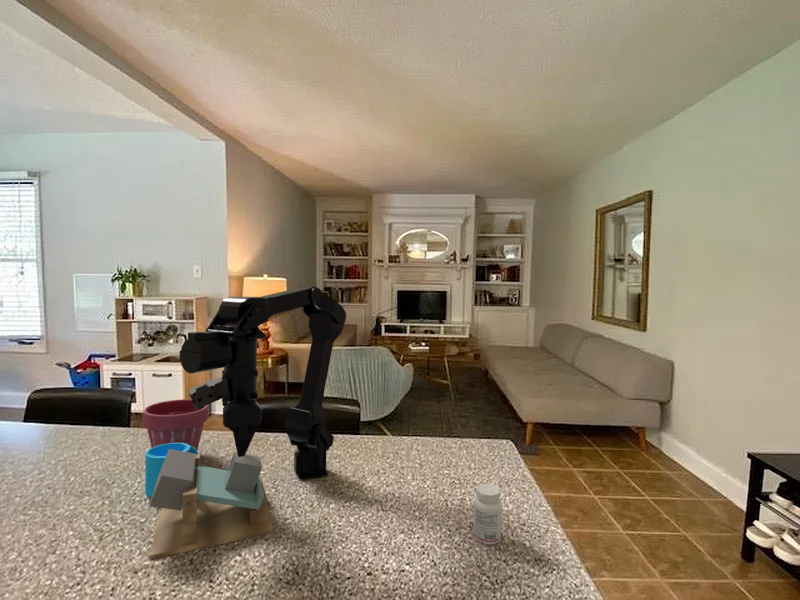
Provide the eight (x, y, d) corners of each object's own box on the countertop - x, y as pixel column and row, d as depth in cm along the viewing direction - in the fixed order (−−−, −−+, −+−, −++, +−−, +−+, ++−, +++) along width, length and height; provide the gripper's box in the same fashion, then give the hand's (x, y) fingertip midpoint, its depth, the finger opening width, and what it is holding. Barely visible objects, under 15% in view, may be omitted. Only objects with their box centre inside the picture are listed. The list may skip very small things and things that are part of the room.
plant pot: (219, 455, 104) (220, 404, 104) (163, 476, 93) (163, 419, 92) (187, 442, 112) (187, 395, 112) (131, 460, 100) (131, 408, 100)
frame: (262, 486, 89) (262, 444, 88) (273, 532, 72) (273, 481, 72) (163, 503, 81) (163, 457, 81) (149, 559, 65) (149, 502, 64)
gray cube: (250, 482, 81) (259, 457, 82) (252, 493, 77) (262, 467, 77) (224, 477, 79) (234, 451, 80) (224, 489, 75) (235, 462, 75)
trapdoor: (249, 490, 85) (258, 466, 85) (254, 520, 74) (265, 493, 74) (158, 474, 78) (169, 448, 79) (149, 506, 67) (161, 475, 68)
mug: (167, 501, 82) (167, 460, 82) (135, 494, 85) (135, 454, 84) (211, 475, 94) (211, 439, 93) (182, 469, 96) (183, 434, 96)
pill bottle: (481, 525, 76) (482, 480, 75) (505, 536, 73) (507, 488, 72) (468, 537, 72) (469, 489, 72) (493, 549, 69) (494, 499, 69)
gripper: (194, 358, 83) (194, 435, 83) (189, 377, 66) (188, 475, 66) (253, 355, 87) (253, 429, 88) (263, 373, 70) (262, 464, 71)
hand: (239, 447), depth 78 cm, fingers open, 9 cm apart
